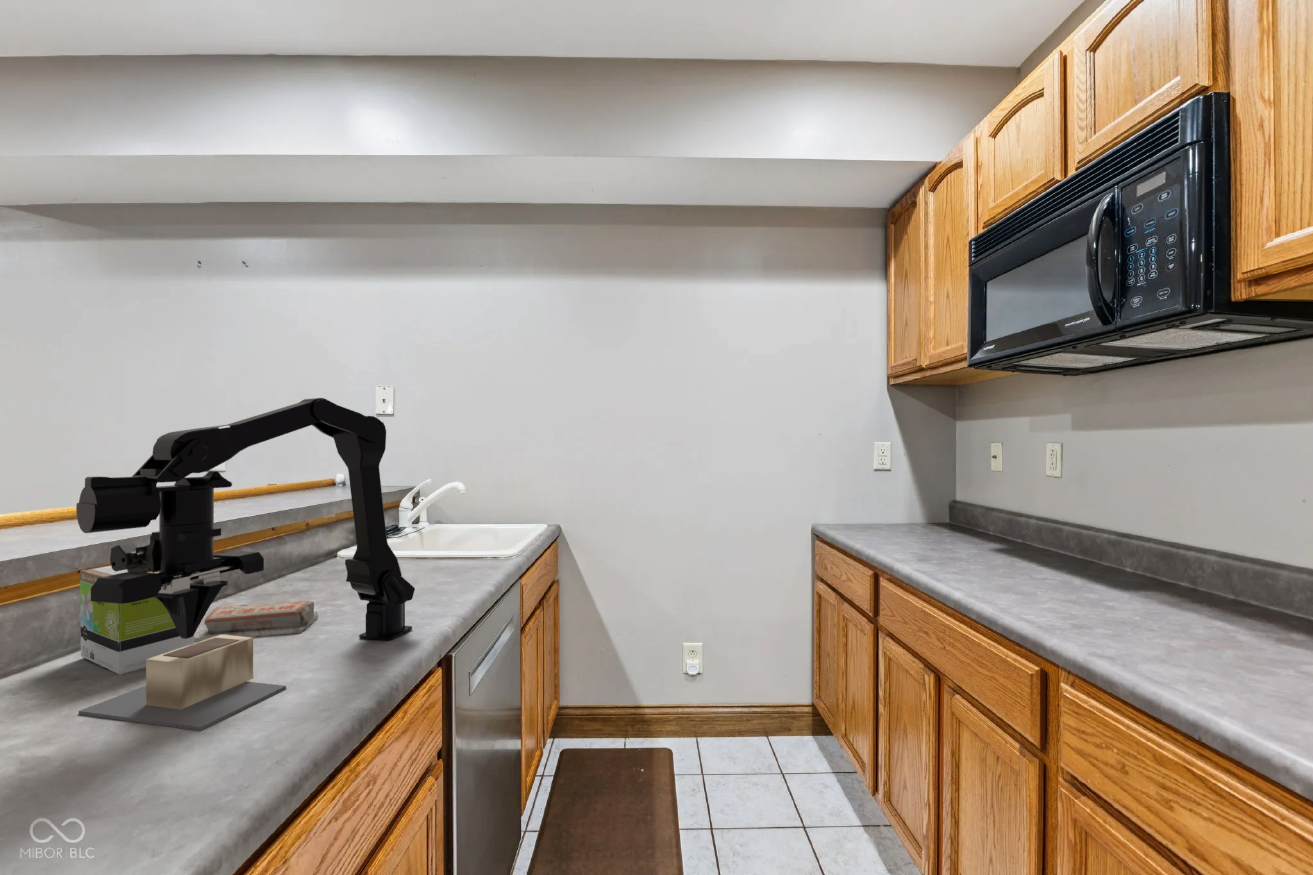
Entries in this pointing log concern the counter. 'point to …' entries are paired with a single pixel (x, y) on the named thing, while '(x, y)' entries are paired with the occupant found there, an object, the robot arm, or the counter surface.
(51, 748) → the counter surface
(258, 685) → the rubber mat
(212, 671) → the birch block
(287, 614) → the packaged product
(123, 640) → the tea box
